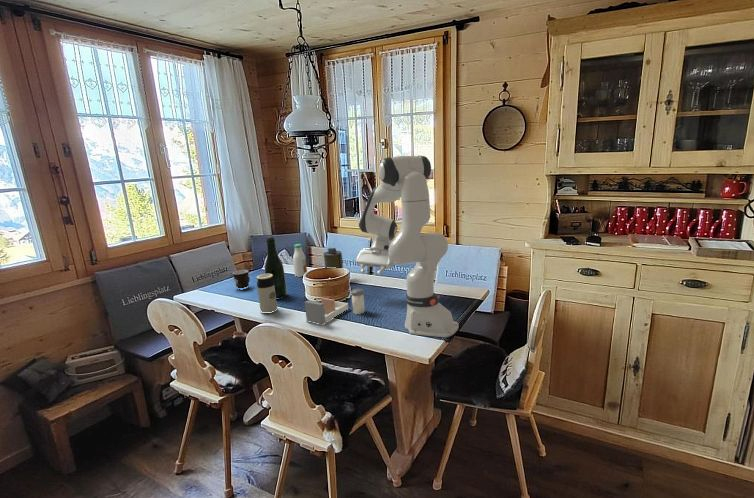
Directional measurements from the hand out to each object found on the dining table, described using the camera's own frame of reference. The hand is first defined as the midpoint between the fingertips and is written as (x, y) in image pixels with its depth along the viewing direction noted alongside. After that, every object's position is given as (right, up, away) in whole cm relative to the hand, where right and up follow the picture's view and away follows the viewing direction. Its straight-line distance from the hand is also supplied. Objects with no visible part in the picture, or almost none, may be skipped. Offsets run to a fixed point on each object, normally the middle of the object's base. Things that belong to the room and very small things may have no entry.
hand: (370, 273), depth 196 cm
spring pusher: (-19, -18, -8) cm, 27 cm away
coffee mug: (-74, -11, +38) cm, 84 cm away
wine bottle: (-50, -14, +22) cm, 56 cm away
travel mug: (-49, -19, +2) cm, 53 cm away
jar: (-5, -18, -6) cm, 19 cm away
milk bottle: (-44, -5, +58) cm, 73 cm away
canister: (-21, -7, +42) cm, 48 cm away
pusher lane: (-19, -19, -8) cm, 28 cm away
